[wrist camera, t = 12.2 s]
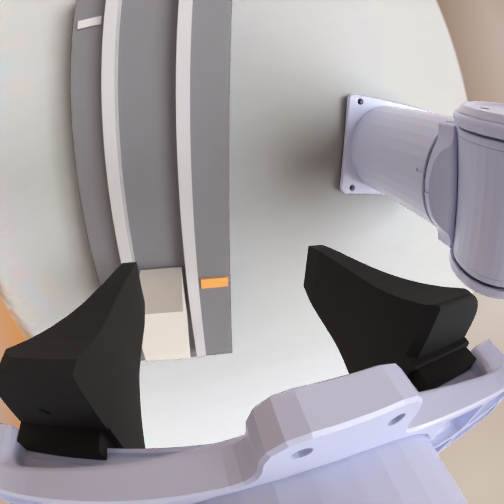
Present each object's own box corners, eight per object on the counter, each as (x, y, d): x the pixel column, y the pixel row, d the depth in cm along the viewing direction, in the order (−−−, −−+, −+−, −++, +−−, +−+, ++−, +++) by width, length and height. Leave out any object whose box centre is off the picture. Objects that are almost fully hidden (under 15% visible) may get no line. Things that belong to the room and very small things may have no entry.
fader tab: (181, 266, 21) (182, 311, 17) (186, 310, 23) (190, 357, 18) (140, 270, 20) (132, 315, 16) (149, 313, 22) (146, 360, 18)
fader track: (228, -17, 14) (235, -33, 11) (228, 337, 28) (234, 360, 25) (86, -2, 12) (73, -15, 9) (127, 346, 26) (124, 369, 23)
